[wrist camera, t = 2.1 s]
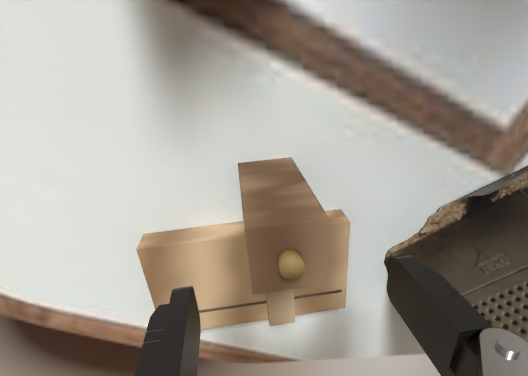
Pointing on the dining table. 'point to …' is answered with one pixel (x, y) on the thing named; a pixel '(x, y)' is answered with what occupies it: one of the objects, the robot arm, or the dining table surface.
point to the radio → (481, 250)
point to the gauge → (282, 234)
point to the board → (233, 272)
